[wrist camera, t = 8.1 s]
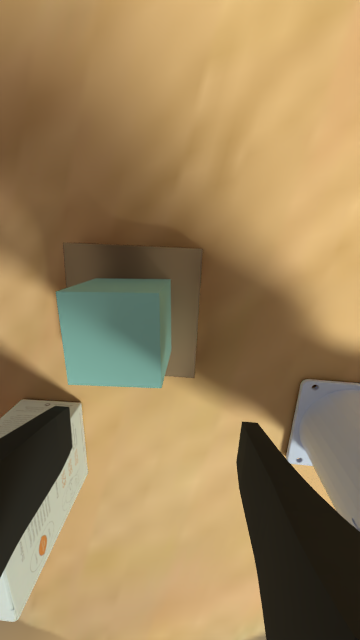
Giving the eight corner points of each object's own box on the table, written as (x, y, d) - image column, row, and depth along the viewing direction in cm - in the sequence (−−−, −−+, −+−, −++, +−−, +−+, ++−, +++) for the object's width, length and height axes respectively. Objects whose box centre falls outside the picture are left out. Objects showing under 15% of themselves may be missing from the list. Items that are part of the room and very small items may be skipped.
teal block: (170, 279, 17) (159, 292, 12) (171, 350, 18) (161, 388, 13) (95, 278, 17) (55, 291, 12) (102, 348, 19) (68, 384, 14)
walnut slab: (202, 248, 19) (202, 248, 16) (194, 360, 22) (194, 377, 19) (82, 243, 20) (63, 242, 17) (89, 353, 22) (73, 369, 19)
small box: (22, 396, 23) (-114, 512, 13) (83, 400, 23) (-8, 523, 13) (34, 468, 25) (-75, 615, 15) (89, 473, 25) (16, 626, 15)
